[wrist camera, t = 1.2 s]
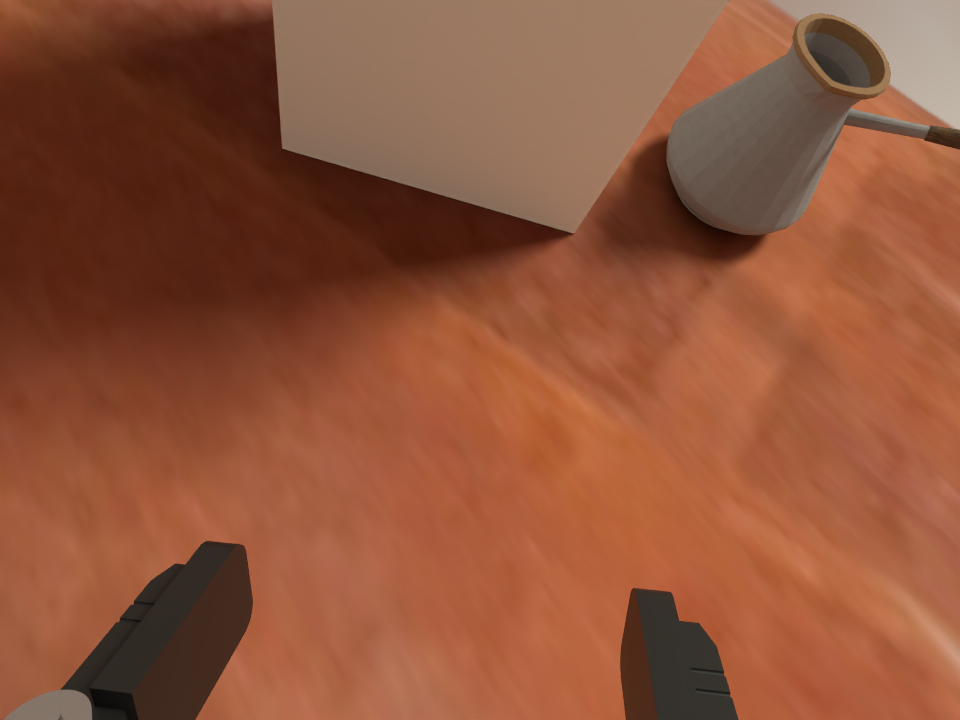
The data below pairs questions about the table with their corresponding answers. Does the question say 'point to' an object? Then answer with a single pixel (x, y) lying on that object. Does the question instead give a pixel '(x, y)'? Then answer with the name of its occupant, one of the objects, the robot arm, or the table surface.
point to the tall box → (482, 92)
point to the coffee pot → (782, 129)
